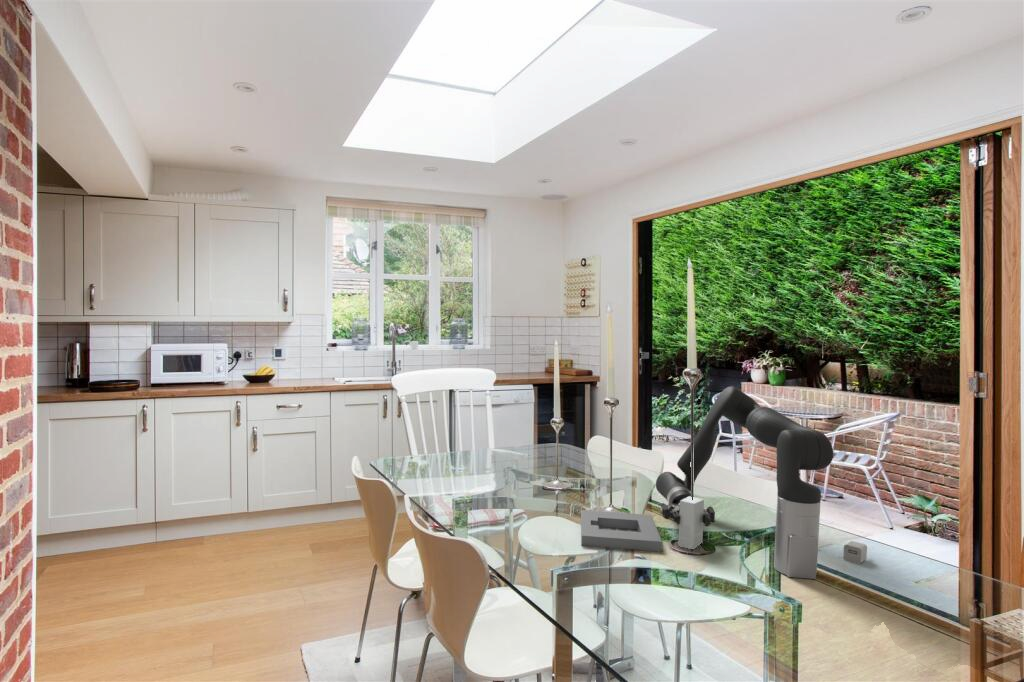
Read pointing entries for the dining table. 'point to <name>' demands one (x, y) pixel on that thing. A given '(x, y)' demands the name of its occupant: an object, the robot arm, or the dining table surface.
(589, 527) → the block
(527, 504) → the dining table surface
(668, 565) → the dining table surface
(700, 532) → the skincare box
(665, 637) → the dining table surface
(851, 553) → the usb wall charger
